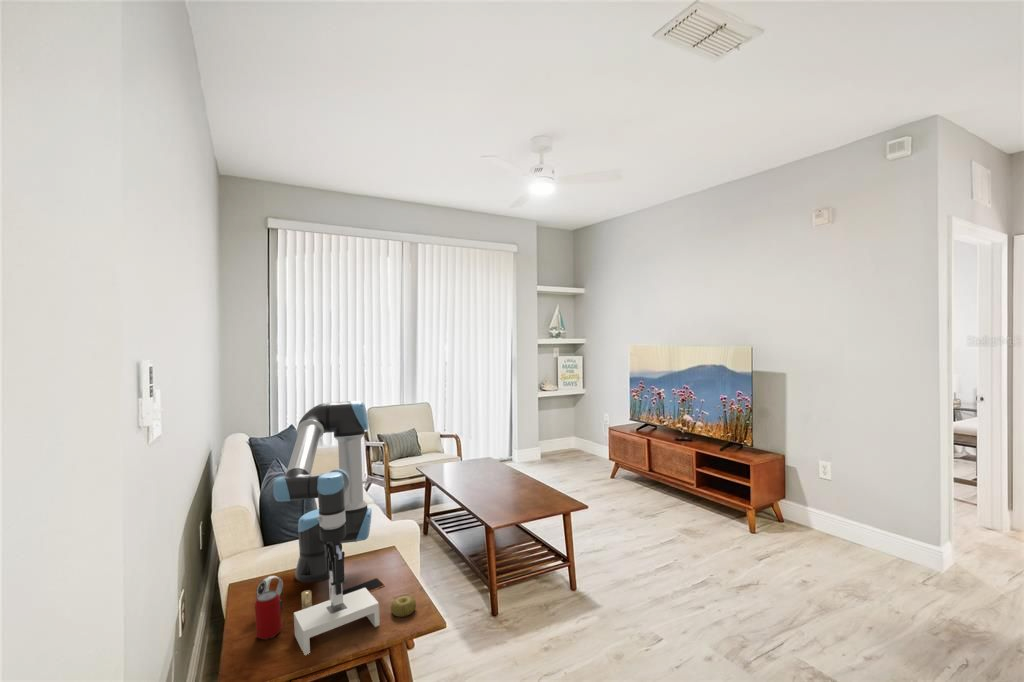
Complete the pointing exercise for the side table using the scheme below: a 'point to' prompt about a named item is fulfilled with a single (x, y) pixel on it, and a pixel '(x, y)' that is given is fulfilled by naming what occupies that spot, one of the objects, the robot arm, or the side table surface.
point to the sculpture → (403, 606)
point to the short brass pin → (306, 599)
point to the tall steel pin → (336, 607)
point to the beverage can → (268, 615)
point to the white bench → (334, 616)
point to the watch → (265, 585)
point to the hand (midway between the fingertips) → (336, 601)
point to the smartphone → (365, 586)
